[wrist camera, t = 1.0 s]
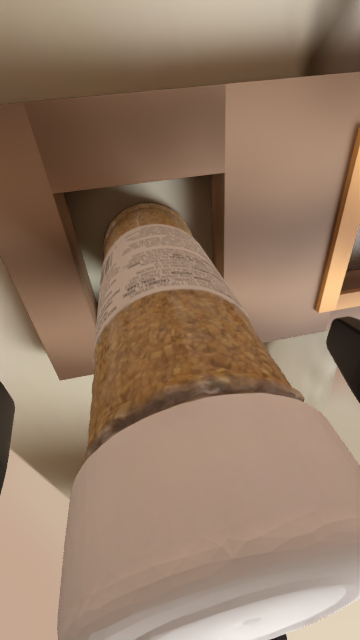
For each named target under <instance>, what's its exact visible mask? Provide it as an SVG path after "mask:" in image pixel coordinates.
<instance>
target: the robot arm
mask: <svg viewBox="0 0 360 640" xmlns="http://www.w3.org/2000/svg"><path fill="white" fill-rule="evenodd" d="M326 344H327V348H328V350H329V352H330V354H331V356H332V357H333V359H334V361H335V363H336V364H337V366H338V368H339V370H340V371H341V373H342V375H343V377H344V379H345V380H346V382H347V384H348V386H349V387H350V389H351V391H352V392H353V394H354V395H355V397H356V398H357V400H358V401H359V403H360V320H359V319H356V318H353V317H350V316H345V317H339V318H335V319H334V320H333V321H332V323H331V326H330V330H329V333H328V337H327V341H326ZM14 412H15V405H14V401H13V399H12V398H11V396H10V395H9V393H8V392H7V390H6V389H5V387H4V385H3V384H2V383H1V382H0V494H1V490H2V486H3V482H4V478H5V473H6V468H7V463H8V457H9V450H10V442H11V435H12V427H13V420H14ZM270 640H287V637H286V634H284V635H281V636H278V637H276V638H273V639H270Z"/></svg>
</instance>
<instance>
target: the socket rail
mask: <svg viewBox="0 0 360 640" xmlns="http://www.w3.org/2000/svg"><path fill="white" fill-rule="evenodd" d="M210 174H211V181H212V246H213V265H214V266H215V268H216V269H217V270H218V272H219V273H220V275H221V276H222V278H223V279H224V281H225V282H226V284H227V285H228V286H229V288H230V289H231V291H232V292H233V294H234V295H235V297H236V298H237V300H238V301H239V302H240V304H241V305H242V307H243V308H244V310H245V311H246V313H247V314H248V317H249V321H250V323H251V325H252V326H253V328H254V330H255V332H256V334H257V335H258V336H259V338H260V340H261V341H262V342H263V343H264V342H269V341H274V340H280V339H285V338H290V337H296V336H301V335H307V334H312V333H317V332H323V331H328V330H330V326H331V323H332V321H333V320H334V319H335V318H339V317H345V316H350V317H353V318H356V319H359V320H360V269H357V270H351V271H346V270H347V267H348V263H349V260H350V256H351V253H352V249H353V246H354V242H355V239H356V235H357V232H358V228H359V225H360V72H350V73H339V74H328V75H317V76H306V77H295V78H284V79H273V80H262V81H251V82H240V83H229V84H218V85H207V86H196V87H185V88H174V89H163V90H151V91H140V92H129V93H118V94H107V95H96V96H85V97H74V98H63V99H52V100H41V101H30V102H19V103H8V104H0V256H1V258H2V260H3V262H4V264H5V266H6V268H7V270H8V272H9V275H10V277H11V279H12V281H13V283H14V285H15V287H16V289H17V291H18V293H19V296H20V298H21V300H22V302H23V304H24V306H25V308H26V310H27V312H28V314H29V317H30V319H31V321H32V323H33V325H34V327H35V329H36V331H37V333H38V335H39V338H40V340H41V342H42V344H43V346H44V348H45V350H46V352H47V354H48V357H49V359H50V361H51V363H52V365H53V367H54V369H55V371H56V373H57V375H58V378H59V380H65V379H70V378H76V377H81V376H86V375H92V374H94V366H93V348H94V339H95V330H96V321H97V311H98V306H97V303H96V300H95V296H94V293H93V290H92V286H91V283H90V280H89V276H88V273H87V270H86V266H85V263H84V260H83V256H82V253H81V249H80V246H79V243H78V239H77V236H76V233H75V229H74V226H73V223H72V219H71V216H70V213H69V209H68V206H67V203H66V199H65V196H64V192H71V191H79V190H88V189H96V188H104V187H112V186H120V185H128V184H137V183H145V182H153V181H161V180H169V179H177V178H186V177H194V176H202V175H210Z"/></svg>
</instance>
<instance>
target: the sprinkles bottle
mask: <svg viewBox="0 0 360 640" xmlns="http://www.w3.org/2000/svg"><path fill="white" fill-rule="evenodd" d="M103 253H104V262H103V265H102V272H101V281H100V291H99V301H98V311H97V321H96V330H95V339H94V348H93V366H94V380H93V385H92V403H91V413H90V424H89V441H88V447H87V452H86V455H85V457H84V460H83V462H82V466H81V469H80V471H79V472H78V474H77V476H76V478H75V480H74V483H73V486H72V489H71V496H70V504H69V512H68V520H67V528H66V536H65V545H64V555H63V567H62V577H61V588H60V599H59V609H58V627H57V630H58V640H270V639H273V638H276V637H278V636H281V635H284V634H286V633H289V632H291V631H294V630H297V629H299V628H302V627H304V626H307V625H309V624H311V623H314V622H316V621H318V620H320V619H322V618H324V617H327V616H329V615H331V614H333V613H335V612H337V611H339V610H341V609H343V608H344V607H346V606H348V605H349V604H351V603H353V602H354V601H356V600H358V599H360V465H359V464H358V462H357V461H356V460H355V458H354V457H353V455H352V454H351V452H350V451H349V450H348V448H347V447H346V445H345V444H344V443H343V441H342V440H341V438H340V437H339V435H338V434H337V433H336V431H335V430H334V428H333V427H332V426H331V424H330V423H329V421H328V420H327V419H326V417H324V416H323V414H322V413H321V412H319V411H318V410H316V409H315V408H313V407H312V406H310V405H309V404H307V403H304V397H303V395H302V394H301V393H300V392H299V391H297V390H296V389H294V388H292V386H291V385H290V384H289V382H288V381H287V379H286V377H285V376H284V374H283V373H282V372H281V370H280V368H279V367H278V365H277V364H276V363H275V361H274V360H273V358H272V357H271V356H270V354H269V353H268V351H267V349H266V347H265V346H264V344H263V342H262V341H261V340H260V338H259V336H258V335H257V334H256V332H255V330H254V328H253V326H252V325H251V323H250V321H249V317H248V314H247V313H246V311H245V310H244V308H243V307H242V305H241V304H240V302H239V301H238V300H237V298H236V297H235V295H234V294H233V292H232V291H231V289H230V288H229V286H228V285H227V284H226V282H225V281H224V279H223V278H222V276H221V275H220V273H219V272H218V270H217V269H216V268H215V266H214V265H213V263H212V262H211V260H210V259H209V257H208V256H207V254H206V253H205V252H204V250H203V249H202V247H201V246H200V244H199V243H198V242H197V241H196V240H195V239H194V238H193V236H192V233H191V231H190V229H189V227H188V225H187V223H186V222H185V221H184V220H183V219H182V218H181V217H180V216H179V214H178V213H177V212H176V211H174V210H172V209H169V208H167V207H165V206H163V205H159V204H154V203H143V204H137V205H135V206H132V207H129V208H127V209H125V210H124V211H122V212H121V213H120V214H118V216H117V217H116V218H115V219H113V221H112V222H111V224H110V225H109V227H108V229H107V233H106V234H105V239H104V243H103Z"/></svg>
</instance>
